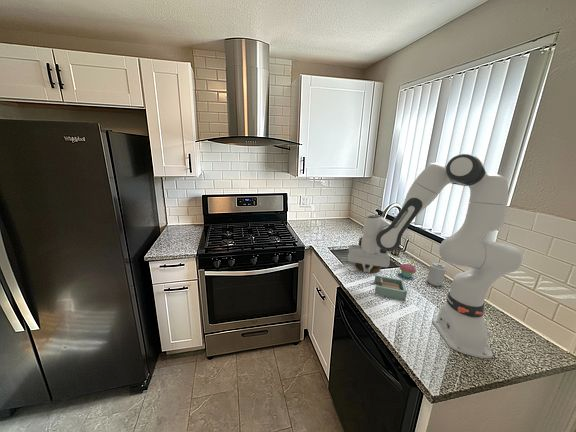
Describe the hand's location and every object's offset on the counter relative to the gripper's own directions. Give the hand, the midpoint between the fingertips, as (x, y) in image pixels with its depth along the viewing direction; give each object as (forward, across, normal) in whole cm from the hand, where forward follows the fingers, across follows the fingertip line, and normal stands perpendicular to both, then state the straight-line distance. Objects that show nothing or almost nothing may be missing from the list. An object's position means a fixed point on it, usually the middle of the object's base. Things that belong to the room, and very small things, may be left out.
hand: (366, 271), depth 123 cm
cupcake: (+9, +26, +22) cm, 35 cm away
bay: (+10, +12, +2) cm, 16 cm away
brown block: (+10, +12, +2) cm, 16 cm away
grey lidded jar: (+9, +39, +18) cm, 44 cm away
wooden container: (+9, +4, +26) cm, 28 cm away
